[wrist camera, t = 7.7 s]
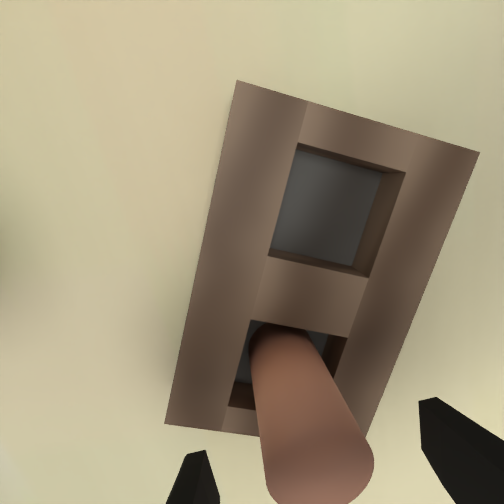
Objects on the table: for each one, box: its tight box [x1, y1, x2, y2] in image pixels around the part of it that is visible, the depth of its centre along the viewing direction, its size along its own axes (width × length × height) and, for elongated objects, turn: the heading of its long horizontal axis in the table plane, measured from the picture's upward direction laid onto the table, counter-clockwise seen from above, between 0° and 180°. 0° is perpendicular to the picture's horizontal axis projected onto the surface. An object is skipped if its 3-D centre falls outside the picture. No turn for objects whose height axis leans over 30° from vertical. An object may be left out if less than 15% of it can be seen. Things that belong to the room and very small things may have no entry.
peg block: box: [164, 80, 480, 437], centre depth 17 cm, size 12×18×3 cm, turn 166°
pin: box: [248, 322, 374, 504], centre depth 14 cm, size 4×4×8 cm
